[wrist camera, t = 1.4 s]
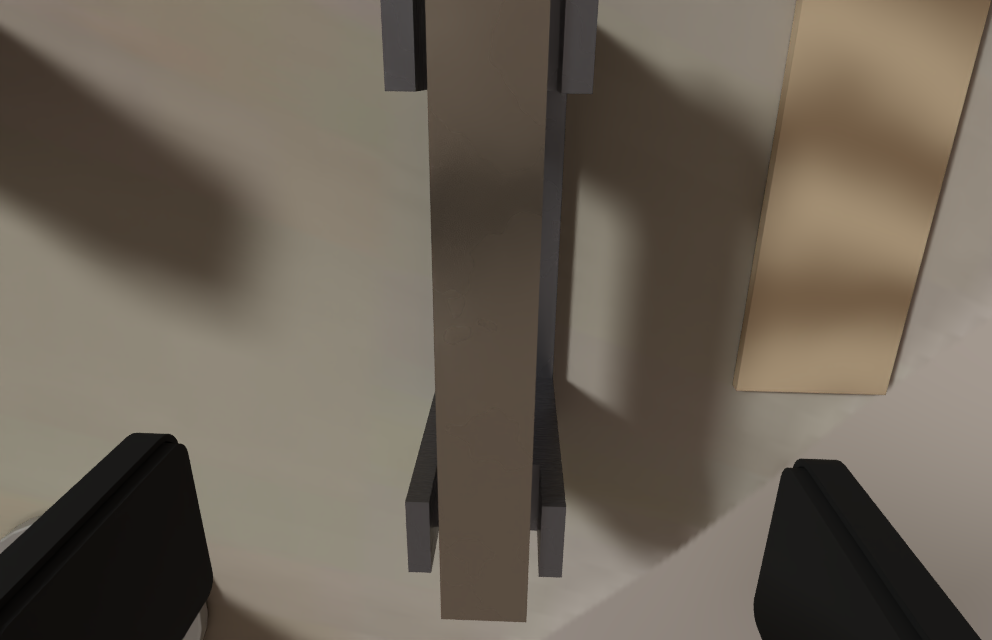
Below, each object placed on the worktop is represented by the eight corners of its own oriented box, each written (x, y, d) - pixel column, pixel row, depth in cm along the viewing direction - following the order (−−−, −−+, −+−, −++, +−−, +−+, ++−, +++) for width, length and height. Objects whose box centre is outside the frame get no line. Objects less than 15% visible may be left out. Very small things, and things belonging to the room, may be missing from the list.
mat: (878, 388, 30) (885, 394, 30) (732, 384, 31) (736, 390, 30) (1023, -163, 22) (1036, -169, 22) (823, -163, 23) (831, -169, 22)
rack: (549, 424, 32) (561, 577, 22) (442, 420, 32) (408, 571, 22) (569, 5, 25) (601, -38, 15) (433, 4, 25) (378, -40, 15)
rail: (525, 560, 25) (526, 622, 22) (450, 558, 25) (441, 619, 22) (549, -88, 17) (555, -120, 14) (438, -88, 17) (422, -120, 14)
